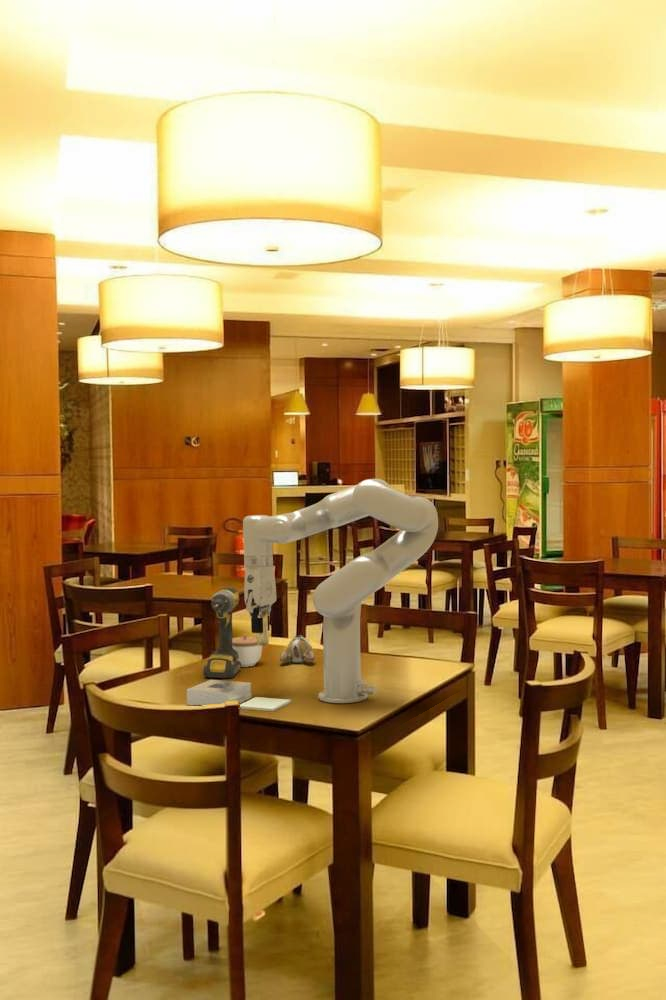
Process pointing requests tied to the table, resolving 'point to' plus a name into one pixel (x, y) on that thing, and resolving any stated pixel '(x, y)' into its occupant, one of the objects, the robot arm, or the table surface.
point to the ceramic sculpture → (298, 651)
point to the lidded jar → (247, 650)
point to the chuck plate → (218, 692)
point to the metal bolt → (263, 637)
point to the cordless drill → (224, 637)
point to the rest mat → (264, 704)
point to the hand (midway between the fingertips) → (260, 631)
